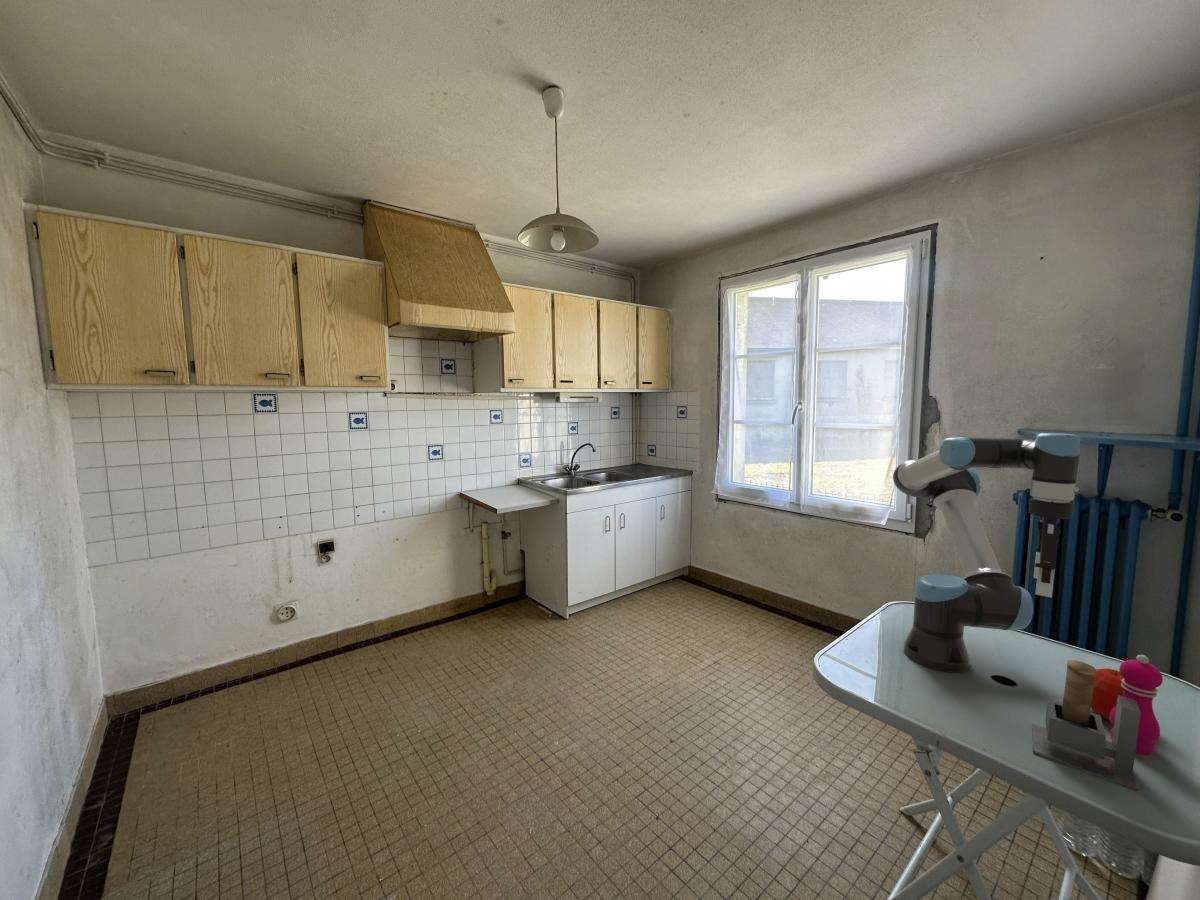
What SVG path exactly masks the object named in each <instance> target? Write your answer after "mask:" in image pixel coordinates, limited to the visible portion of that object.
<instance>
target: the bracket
mask: <svg viewBox="0 0 1200 900" xmlns="http://www.w3.org/2000/svg"><path fill="white" fill-rule="evenodd" d="M1062 706H1063V703H1060V702H1057V701H1054V700H1050V699H1047V703H1046V713H1045V714H1046V715H1045V727H1043V726H1040V725H1037V724H1035V723H1031V738H1032V742H1031V743H1032V753H1033V754H1035V755H1038V756H1040V757H1043V758H1045V759H1049V760H1051V761H1054V762H1057V763H1060V764H1063V765H1064V766H1067V767H1069V768H1073V769H1076V770H1079V771H1081V772H1084V773H1087V774H1090V775H1093V776H1095V777H1097V778H1100V779H1104V780H1106V781H1109V782H1112V783H1115V784H1118V785H1120V786H1123V787H1126V788H1129V789H1131V790H1134V791H1138V786H1137V783H1136V780H1135V776H1134V765H1135V757H1136V752H1135V751H1136V744H1137V736H1138V729H1139V721H1140V713H1141V712H1140V710H1139V707H1138V705H1137V702H1136V700H1134V699H1130V698H1127V697H1123V696H1119V695H1118V698H1117V706H1116V714H1115V722H1114V730H1113V738H1112V739H1111V742H1110V741H1108V740H1107V734H1106V731H1105V730H1106V729H1105V727H1104V723H1103V719H1102V716H1101V715H1099V714H1097V713H1094V712H1091V711H1090V718H1089V726H1088V727H1085V726H1082V725H1078V724H1075V723H1072V722H1069V721H1066V720H1063V719H1061V715H1062Z"/></svg>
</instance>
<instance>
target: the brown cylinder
mask: <svg viewBox="0 0 1200 900" xmlns="http://www.w3.org/2000/svg"><path fill="white" fill-rule="evenodd" d="M1095 673H1096V667H1094V666H1093V665H1091V664H1088V663H1086V662H1083V661H1080V660H1075V659H1074V660H1073V659H1071V660H1070V659H1069V660H1068V661H1067V664H1066V676H1065V682H1064V692H1063V698H1062V700H1063V701H1062V704H1063V706H1062V715H1061V719H1063V720H1066V721H1069V722H1072V723H1075V724H1078V725H1082V726H1085V727H1088V726H1089V718H1090V712H1091V710H1092V708H1091V702H1092V694H1093V686H1094V678H1095Z"/></svg>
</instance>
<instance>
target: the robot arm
mask: <svg viewBox="0 0 1200 900" xmlns="http://www.w3.org/2000/svg"><path fill="white" fill-rule="evenodd" d="M1080 446H1081V439H1080V436H1078V435H1077V434H1074V433H1060V432H1059V433H1058V432H1057V433H1056V432H1042V433H1041V432H1040V433H1038V434H1037V435H1036V437H1035V438H1034V439H1033V438H1028V437H1010V438H1009V437H1006V438H1003V437H1002V438H1001V437H999V438H998V437H997V438H996V437H964V436H958V437H947V438H945V439H944V440H943V441H942V443H941V444H940V447H939V449H938V450H937V451H933V452H931V453H929V454H928V455H926V456H923V457H922V458H919V459H917V460H915V459H913V460H907V461H905V462H902V463H900V464H899V465H898V466H897V467H896V468H895V470H894V471H893V475H892V480H893V483H894V485H895V487H896V489H897V490H899V491H900V492H902V493H903V494H905V495H907V496H910V497H914V498H923V499H924V498H925V499H926V498H927V499H928V498H929V499H931V501H932V503H933V506H934V507H935V508H936V509H939V510H941V512H942V515H943V517H944V521H945V523H946V527H947V529H948V532H949V534H950V537H951V540H952V543H953V546H954V549H955V552H956V555H957V557H958V560H959V563H960V565H961V568H962V571H963V574H964V576H963V578H962V577H959V576H957V575H952V574H950V575H948V574H946V573H932V574H926V575H922V576H921V577H920V578H918V579H917V582H916V585H915V591H914V606H913V619H912V620H913V622H912V627H911V628H910V630H909V633H908V634H907V636H906V639H905V640H904V646H903V652H904V653H905V655H906V656H907V657H908V658H909V659H911V660H912V661H914V662H916V663H918V664H920V665H922V666H924V667H927V668H929V669H933V670H937V671H941V672H948V673H962V672H966V671H967V670H968V669H969V665H970V658H969V657H970V656H969V654H968V651H967V650H968V649H967V647H966V642H965V640H964V630H965V627H969V628H970V627H971V628H982V629H983V628H984V629H992V630H993V629H994V630H1001V631H1021V630H1024V629H1026V628H1027V627H1028V626H1029V625H1030V623H1031V621H1032V619H1033V615H1034V602H1033V599H1032V598H1033V597H1032V595H1031V594H1030V592H1029V591H1028V590H1027V589H1025V587H1022V586H1020V585H1015V584H1014V581H1013V578H1012V576H1011V575H1009V574H1008V573H1006V572H1004V571H1002V570H1001V567H1000V565H999V561H998V559H997V557H996V555H995V552H994V550H993V548H992V545H991V542H990V540H989V538H988V535H987V533H986V530H985V528H984V526H983V523H982V520H981V518H980V516H979V513H978V511H977V508H976V507H975V504H974V503H975V502H976V501H977V499H978V496H979V495H980V493H981V487H982V486H981V485H980V484H981V480H980V479H981V478H980V477H979V474H978V472H977V471H976V470H975V469H974V468H1004V469H1025V470H1031V471H1032V472H1031V473H1032V474H1031V475H1032V476H1031V481H1030V491H1029V495H1030V496H1031V498H1030V499H1029V502H1028V504H1029V505H1028V513H1030V515H1033V516H1036V517H1039V519H1040V520H1039V521H1037V522H1036V533H1037V543H1036V552H1035V559H1034V568H1033V569H1034V571H1033V579H1036V587H1035V595H1037V596H1041V597H1047V598H1052V597H1053V591H1054V590H1053V589H1054V579H1055V570H1056V568H1057V551H1058V550H1057V548H1058V543H1059V541H1060V533H1061V531H1062V526H1061V523H1058V522H1057V521H1058V520H1069V519H1072V517H1073V515H1074V514H1073V513H1074V503H1073V502H1072V501H1074V499H1075V493H1076V492H1079V491H1080V488H1079V487H1077V486H1076V484H1077V477H1078V472H1079V471H1078V470H1079V463H1080V455H1081V450H1080V448H1081V447H1080Z"/></svg>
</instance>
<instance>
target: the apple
mask: <svg viewBox="0 0 1200 900" xmlns="http://www.w3.org/2000/svg"><path fill="white" fill-rule="evenodd" d="M1095 669H1096V668H1095ZM1122 679H1124V678H1123V676H1122V675H1121V674H1120V670H1117V669H1116V670H1115V669H1113V668H1098V669H1096V673H1095V678H1094V686H1093V694H1092V702H1091V710H1093V711H1094V712H1095V714H1097V715H1101V718H1104V719H1106V720H1108V721H1110V720H1109V716H1110V712H1111V711H1112V709H1113V708H1114V707H1115V706H1116V705H1117V698H1118V695H1119V696H1123V693H1124V688H1123V687H1122V686H1121V683H1122Z"/></svg>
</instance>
